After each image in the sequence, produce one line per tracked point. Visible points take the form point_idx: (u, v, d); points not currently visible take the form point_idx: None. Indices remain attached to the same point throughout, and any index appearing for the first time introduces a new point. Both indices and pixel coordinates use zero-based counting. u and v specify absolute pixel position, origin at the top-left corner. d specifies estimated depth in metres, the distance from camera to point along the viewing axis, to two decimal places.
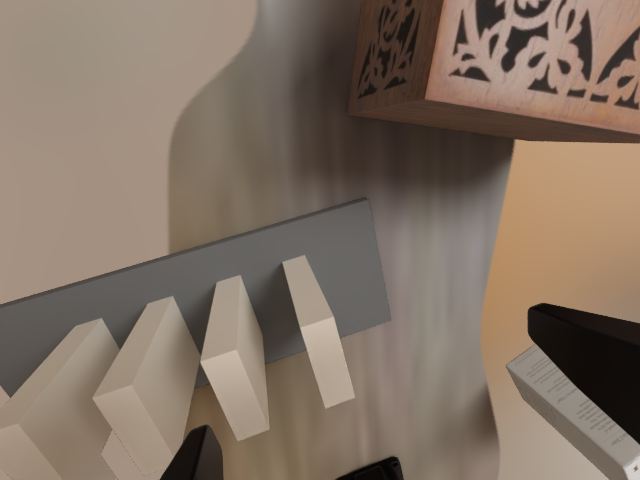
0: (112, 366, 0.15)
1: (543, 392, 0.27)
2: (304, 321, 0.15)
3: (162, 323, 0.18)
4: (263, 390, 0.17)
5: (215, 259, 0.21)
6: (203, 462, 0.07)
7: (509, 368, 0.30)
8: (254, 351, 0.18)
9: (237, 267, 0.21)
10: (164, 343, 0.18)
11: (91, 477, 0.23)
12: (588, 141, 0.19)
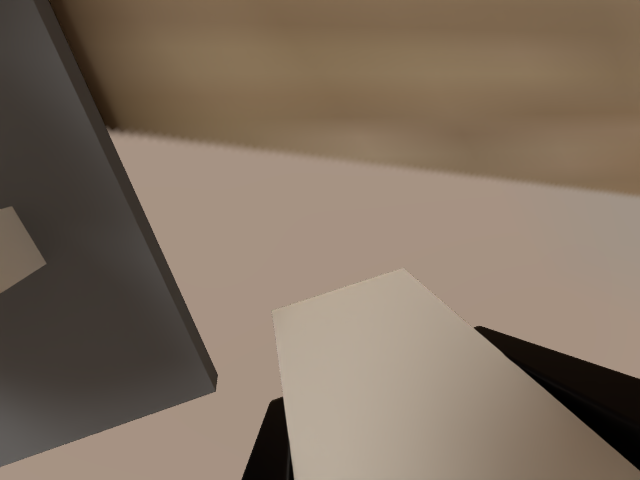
0: None
1: None
2: None
3: None
4: None
5: None
6: None
7: None
8: None
9: None
10: None
11: (312, 326, 0.10)
12: None
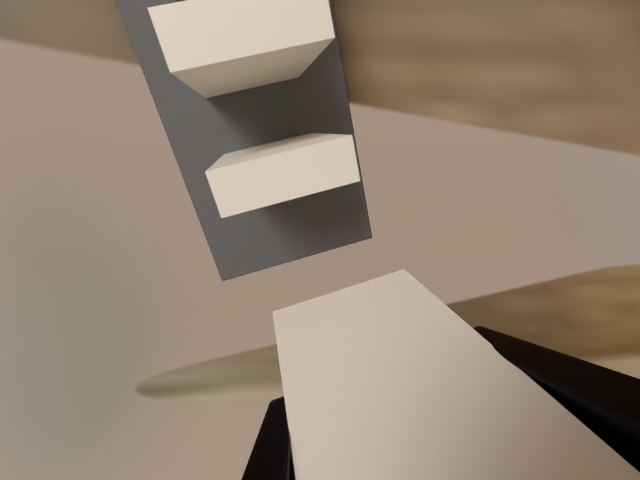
0: (182, 79, 0.11)
1: None
2: None
3: None
4: None
5: None
6: None
7: None
8: None
9: None
10: None
11: (312, 328, 0.10)
12: None
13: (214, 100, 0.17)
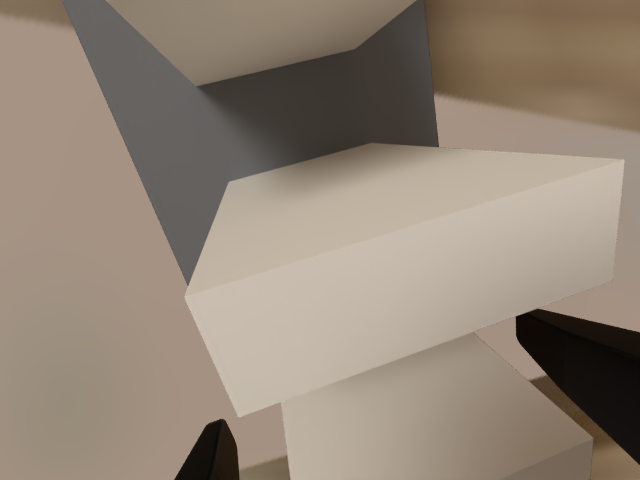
0: (118, 9, 0.04)
1: None
2: None
3: None
4: None
5: None
6: (220, 456, 0.07)
7: None
8: None
9: None
10: None
11: None
12: None
13: (212, 90, 0.10)
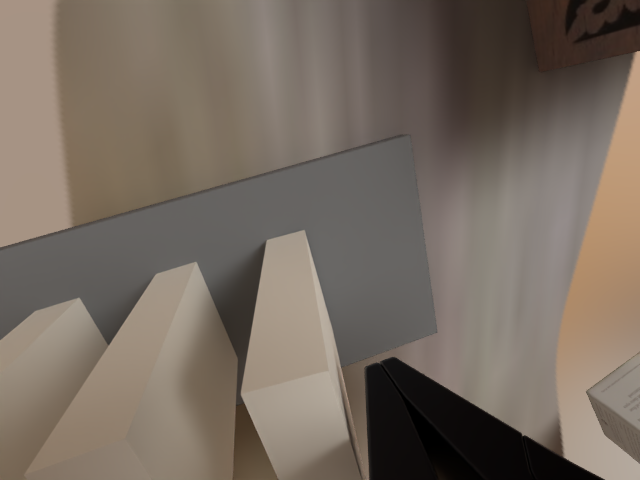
0: None
1: None
2: (257, 373, 0.06)
3: (33, 350, 0.10)
4: None
5: (151, 235, 0.12)
6: None
7: (593, 396, 0.21)
8: (208, 403, 0.09)
9: (190, 248, 0.13)
10: (28, 392, 0.09)
11: None
12: None
13: None
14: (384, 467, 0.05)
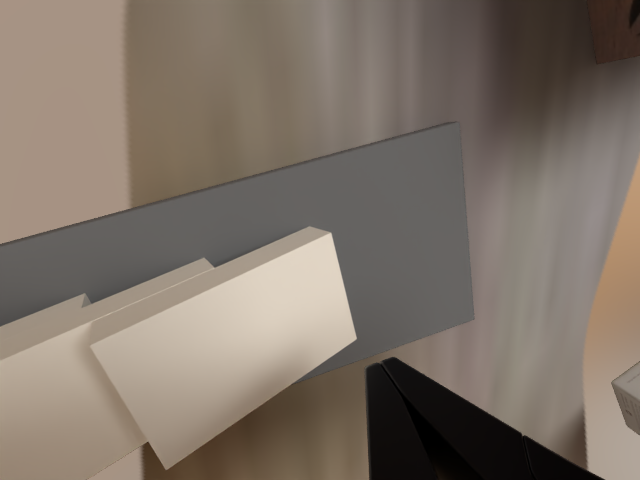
0: None
1: None
2: (106, 318, 0.10)
3: None
4: (76, 464, 0.10)
5: (209, 217, 0.12)
6: None
7: (619, 386, 0.22)
8: (107, 402, 0.10)
9: (245, 231, 0.13)
10: None
11: None
12: None
13: (93, 300, 0.12)
14: (384, 467, 0.05)
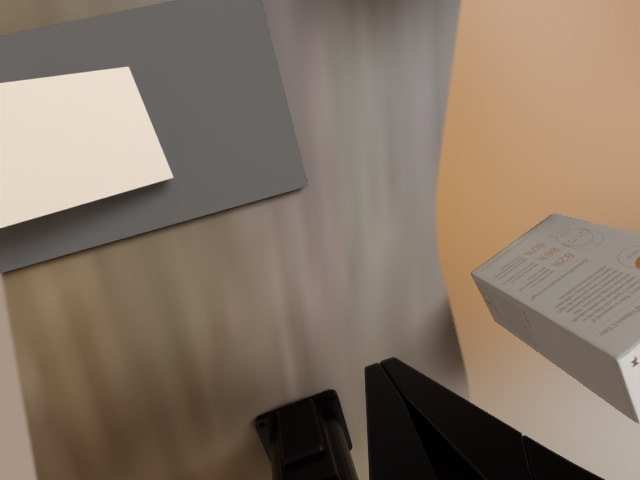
0: None
1: (514, 291, 0.21)
2: None
3: None
4: None
5: (28, 57, 0.14)
6: None
7: (474, 275, 0.24)
8: None
9: (65, 74, 0.15)
10: None
11: None
12: None
13: None
14: (384, 467, 0.05)
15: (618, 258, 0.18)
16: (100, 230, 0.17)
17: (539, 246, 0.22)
